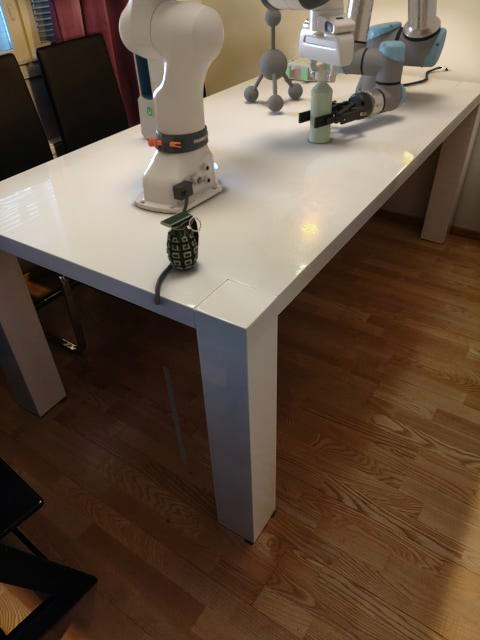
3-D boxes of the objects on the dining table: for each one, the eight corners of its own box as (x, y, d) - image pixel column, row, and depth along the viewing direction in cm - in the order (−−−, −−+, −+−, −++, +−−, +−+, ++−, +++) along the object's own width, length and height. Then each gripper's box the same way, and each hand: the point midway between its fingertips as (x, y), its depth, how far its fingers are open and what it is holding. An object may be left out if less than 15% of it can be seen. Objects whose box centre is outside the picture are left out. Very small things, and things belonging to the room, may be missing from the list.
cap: (321, 81, 132) (322, 73, 131) (311, 79, 135) (312, 71, 134) (333, 78, 134) (333, 71, 133) (323, 76, 137) (323, 69, 135)
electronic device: (141, 137, 154) (123, 28, 136) (159, 131, 158) (144, 24, 140) (166, 145, 147) (151, 30, 129) (185, 138, 151) (172, 26, 133)
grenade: (182, 278, 88) (175, 228, 82) (162, 268, 91) (153, 219, 85) (208, 263, 92) (203, 214, 85) (187, 253, 95) (181, 205, 89)
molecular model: (322, 103, 175) (328, 5, 157) (274, 116, 166) (273, 12, 147) (282, 92, 191) (282, 1, 172) (235, 103, 181) (230, 8, 163)
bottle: (333, 138, 145) (337, 72, 134) (323, 144, 141) (327, 77, 130) (315, 135, 148) (318, 70, 137) (305, 141, 144) (307, 75, 133)
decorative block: (305, 52, 220) (345, 55, 211) (304, 68, 224) (344, 71, 215) (274, 63, 204) (317, 66, 195) (274, 80, 208) (316, 84, 199)
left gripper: (293, 19, 132) (292, 75, 141) (339, 26, 118) (335, 88, 126) (312, 16, 134) (310, 71, 143) (360, 23, 120) (354, 84, 128)
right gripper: (386, 124, 144) (329, 141, 134) (341, 111, 157) (285, 127, 147) (390, 97, 140) (331, 113, 130) (343, 86, 152) (285, 100, 142)
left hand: (322, 79), depth 134 cm, fingers open, 6 cm apart
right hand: (307, 120), depth 138 cm, fingers closed on bottle, 6 cm apart
